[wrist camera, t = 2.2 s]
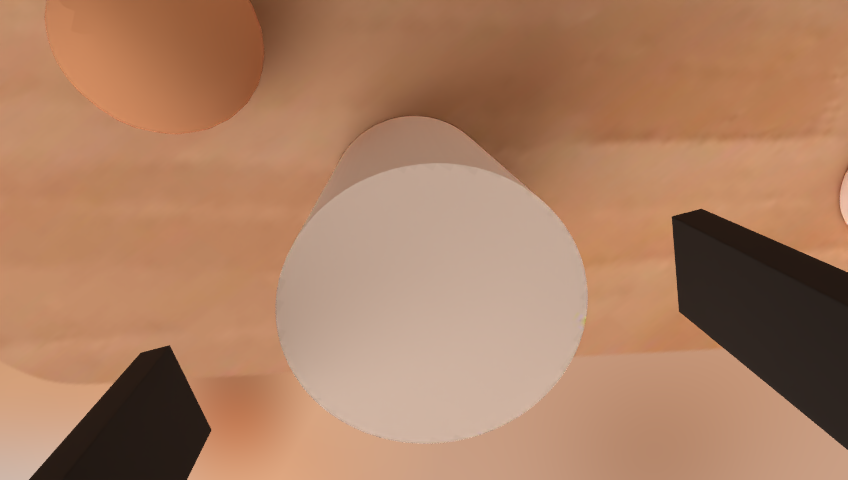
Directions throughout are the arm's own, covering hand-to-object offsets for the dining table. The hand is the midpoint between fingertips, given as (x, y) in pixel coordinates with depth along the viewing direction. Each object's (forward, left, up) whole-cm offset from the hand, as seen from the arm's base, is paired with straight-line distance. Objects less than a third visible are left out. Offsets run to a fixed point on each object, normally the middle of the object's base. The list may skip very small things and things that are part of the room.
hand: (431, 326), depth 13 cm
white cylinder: (0, 0, -12) cm, 12 cm away
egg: (-9, -7, -12) cm, 17 cm away
